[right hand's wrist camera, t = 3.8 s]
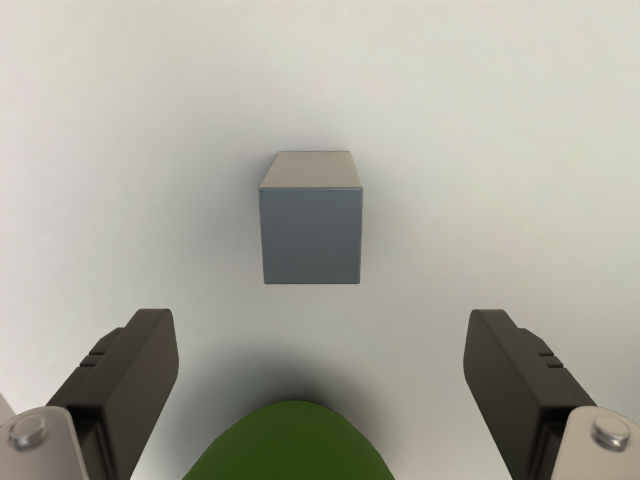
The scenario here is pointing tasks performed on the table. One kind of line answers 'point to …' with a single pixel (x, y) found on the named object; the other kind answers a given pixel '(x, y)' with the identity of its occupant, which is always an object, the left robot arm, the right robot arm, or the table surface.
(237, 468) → the vase
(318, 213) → the block
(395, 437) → the table surface
